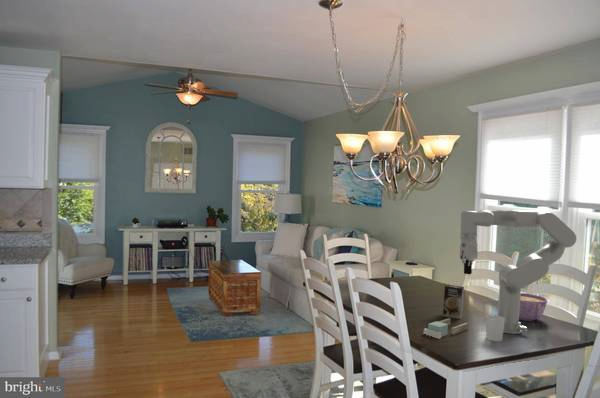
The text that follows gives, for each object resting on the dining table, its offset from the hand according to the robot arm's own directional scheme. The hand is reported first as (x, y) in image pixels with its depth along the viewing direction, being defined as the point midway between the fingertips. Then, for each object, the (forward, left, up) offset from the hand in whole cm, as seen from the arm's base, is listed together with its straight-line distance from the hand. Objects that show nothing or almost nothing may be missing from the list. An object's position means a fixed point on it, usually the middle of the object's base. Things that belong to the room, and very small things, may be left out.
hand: (467, 273), depth 243 cm
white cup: (-18, +6, -27) cm, 33 cm away
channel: (+2, +9, -26) cm, 28 cm away
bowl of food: (-13, -42, -27) cm, 51 cm away
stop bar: (+2, +26, -26) cm, 37 cm away
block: (+2, +22, -27) cm, 34 cm away
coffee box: (+13, -13, -27) cm, 32 cm away
